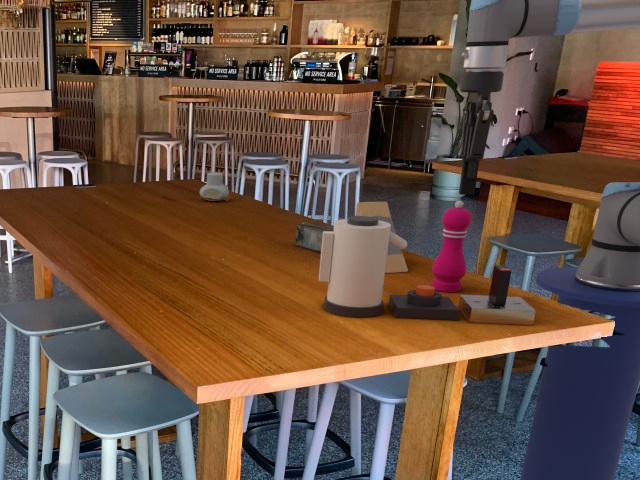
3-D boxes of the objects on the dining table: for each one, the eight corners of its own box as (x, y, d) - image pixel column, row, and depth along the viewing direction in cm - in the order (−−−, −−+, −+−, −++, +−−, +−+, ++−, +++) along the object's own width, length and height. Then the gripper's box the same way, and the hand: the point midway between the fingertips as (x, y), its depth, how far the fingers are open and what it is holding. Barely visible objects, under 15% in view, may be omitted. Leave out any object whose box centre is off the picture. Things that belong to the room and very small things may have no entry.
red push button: (431, 293, 164) (432, 285, 164) (435, 298, 161) (436, 289, 160) (413, 292, 165) (414, 284, 164) (416, 297, 162) (418, 289, 161)
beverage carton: (315, 242, 228) (317, 219, 226) (362, 256, 213) (365, 231, 210) (293, 245, 225) (295, 222, 222) (339, 259, 209) (342, 234, 207)
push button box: (446, 306, 168) (449, 288, 167) (457, 320, 159) (460, 301, 157) (388, 304, 170) (390, 286, 168) (395, 317, 161) (398, 298, 159)
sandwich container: (377, 273, 195) (384, 212, 189) (350, 259, 209) (356, 202, 203) (409, 272, 196) (418, 211, 190) (380, 258, 210) (387, 201, 204)
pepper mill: (442, 283, 186) (455, 196, 179) (469, 290, 181) (484, 201, 173) (422, 287, 182) (435, 199, 175) (449, 294, 177) (464, 204, 169)
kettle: (393, 303, 171) (405, 214, 163) (403, 319, 160) (416, 225, 152) (314, 299, 173) (322, 212, 166) (318, 315, 162) (327, 222, 155)
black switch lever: (488, 298, 163) (494, 263, 160) (498, 298, 163) (504, 264, 160) (494, 305, 158) (501, 269, 156) (505, 305, 158) (511, 270, 155)
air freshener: (230, 199, 301) (231, 172, 297) (226, 203, 294) (227, 175, 290) (201, 198, 304) (202, 171, 300) (197, 201, 296) (198, 174, 293)
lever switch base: (517, 310, 165) (520, 296, 164) (533, 325, 156) (536, 309, 155) (457, 308, 167) (460, 293, 166) (469, 322, 158) (471, 307, 157)
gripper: (454, 70, 160) (440, 189, 169) (472, 71, 148) (455, 199, 157) (493, 69, 159) (477, 189, 168) (514, 70, 147) (495, 199, 156)
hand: (466, 193), depth 162 cm, fingers closed
